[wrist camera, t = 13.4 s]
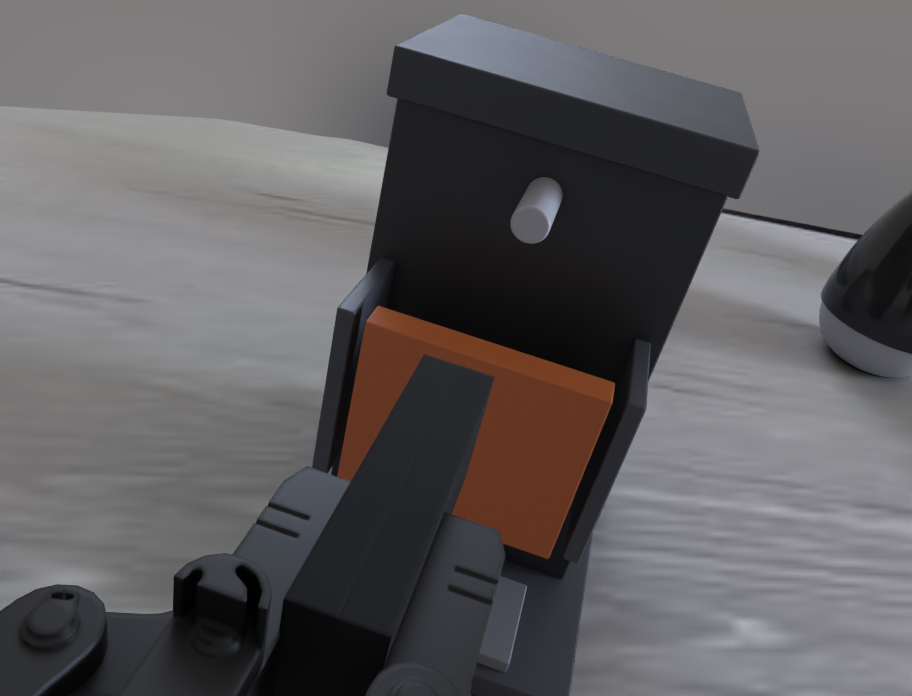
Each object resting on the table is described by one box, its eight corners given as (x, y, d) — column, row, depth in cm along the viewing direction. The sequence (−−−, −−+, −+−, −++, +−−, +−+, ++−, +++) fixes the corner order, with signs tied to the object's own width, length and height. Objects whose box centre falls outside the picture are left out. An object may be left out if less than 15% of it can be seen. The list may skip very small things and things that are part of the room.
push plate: (548, 560, 27) (612, 402, 24) (335, 485, 28) (364, 321, 24) (553, 536, 28) (615, 382, 25) (347, 464, 29) (377, 304, 25)
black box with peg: (558, 727, 29) (811, 223, 18) (239, 608, 30) (296, 70, 20) (596, 479, 42) (758, 94, 31) (369, 402, 43) (448, 6, 32)
